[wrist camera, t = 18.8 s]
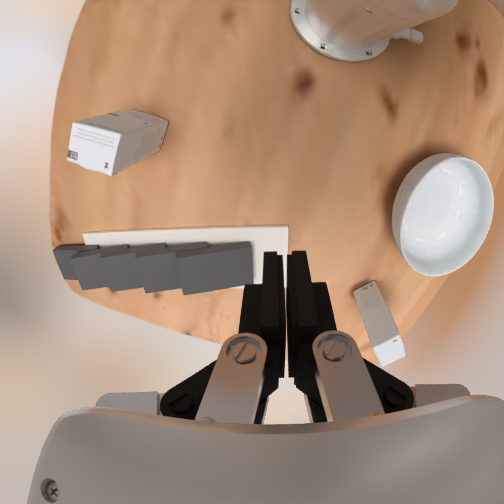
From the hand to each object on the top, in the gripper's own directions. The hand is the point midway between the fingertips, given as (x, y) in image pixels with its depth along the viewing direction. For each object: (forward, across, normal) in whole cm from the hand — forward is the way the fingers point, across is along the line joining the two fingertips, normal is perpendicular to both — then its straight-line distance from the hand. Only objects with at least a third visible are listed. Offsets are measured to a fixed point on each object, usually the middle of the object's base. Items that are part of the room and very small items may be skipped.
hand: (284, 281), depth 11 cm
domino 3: (+22, +16, +14) cm, 31 cm away
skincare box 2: (+24, -15, +23) cm, 37 cm away
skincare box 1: (+24, +16, -5) cm, 30 cm away
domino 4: (+22, +10, +14) cm, 28 cm away
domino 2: (+22, +22, +14) cm, 34 cm away
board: (+24, +15, +14) cm, 31 cm away
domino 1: (+22, +28, +14) cm, 38 cm away
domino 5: (+22, +4, +14) cm, 27 cm away
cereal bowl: (+25, -22, +6) cm, 34 cm away
